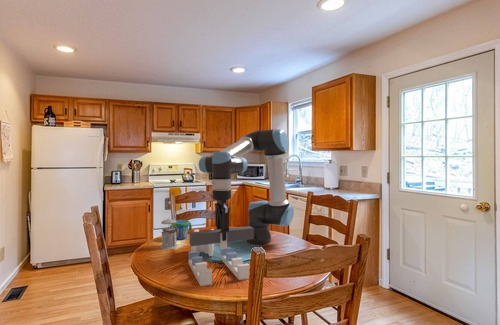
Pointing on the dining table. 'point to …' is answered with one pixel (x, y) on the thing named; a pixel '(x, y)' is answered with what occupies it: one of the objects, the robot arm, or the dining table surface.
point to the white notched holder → (205, 274)
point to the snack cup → (181, 228)
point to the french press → (169, 235)
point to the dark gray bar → (214, 236)
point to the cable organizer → (203, 247)
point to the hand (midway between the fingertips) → (222, 246)
